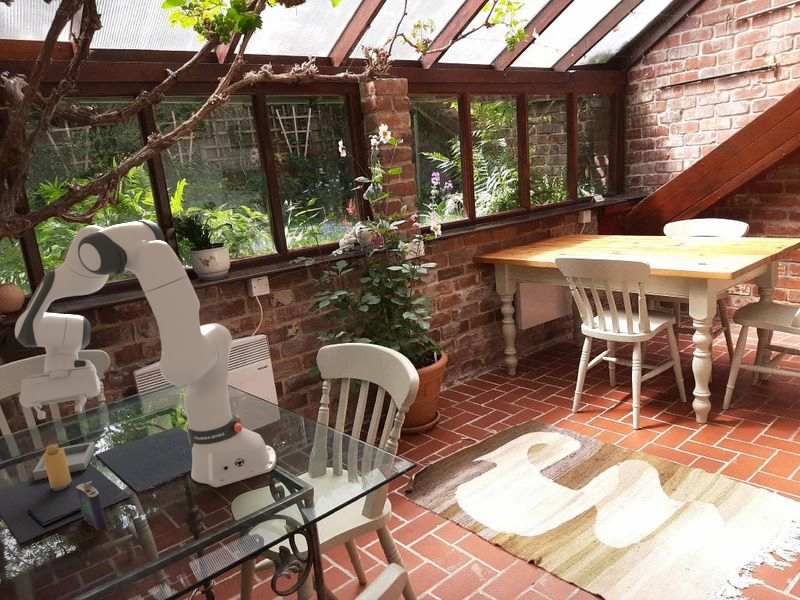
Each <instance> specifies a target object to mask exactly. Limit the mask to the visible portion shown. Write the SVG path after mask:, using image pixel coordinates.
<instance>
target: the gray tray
mask: <svg viewBox="0 0 800 600" xmlns="http://www.w3.org/2000/svg"><path fill="white" fill-rule="evenodd" d="M95 443H96V442H95V441H92V442H85V443H79V444H75V445H69V446H64V447H61V448H63V449H64V452H65V456H66V460H67V464H68V468H69V472H74V471H81V470H85V469H86V468H87V469H88V467H87V466H89V465H90V463H91V461H92V458H93V456H94V454H95V453H96V450H97V449H96V444H95ZM45 452H47V451H46V450H45ZM88 464H89V465H88ZM87 469H86V470H87ZM81 472H82V471H81ZM32 477H33V480H34V481H37V480H38V479H39V480H43V479H42V478H44V479H48V478H47V477H48V475H47V471H46V467H45V463H44V459H43V456H42V457H41V458H40V459H39V461H38V463H37V464H36V466H35V467H34V469H33V471H32ZM39 480H38V481H39Z"/></svg>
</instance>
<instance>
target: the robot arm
mask: <svg viewBox="0 0 800 600" xmlns="http://www.w3.org/2000/svg"><path fill="white" fill-rule="evenodd" d="M72 239H73V240H72V241H71V243H70V246H69V248H68V251H67V254H66V256H65V260H64V262H63V263H62V264H61V265H59V266H58V267H55V269H51V270H49V271H48V272H46V273H45V274H44V276H43V277H42V279H41V280H40V283H39V284H38V286H37V288H36V290H34V293H33V294H32V297H31V298H30V300H29V302H28V304H27V306H26V307H25V309H24V310H23V312H22V313H21V314H20V316H19V318H18V319H17V321H16V323H15V328H14V335H15V339H16V340H17V342H19V343H20V345H22V346H23V347H24V348H38V347H40V348H41V347H43V348H44V349H45V352H46V355H45V358H44V366H43V367H44V368H43V372H41V373H37V374H30V375H27V376H26V377H25V378H23V379H22V380H21V381H20V382H21V387H20V394H19V402H20V404H21V405H22V406H23V407H25V408H34V409H35V411H36V412H37V416H36V417H37V419H38V420H44V419H46V413H47V412H45V411H44V410H41V409H43V408H42V407H43V406H44V405H51V404H57V403H62V402H69V401H70V402H71V401H75V400H79V402H78V404H76V405H75V404H74V412H75V414H78V413H79V414H81V413H82V412H83V407H84V406H85V404H86V403H87V402H88V401H87V400H88V398H93V397H98V396H99V395H100V393H101V382H100V378H99V376H98V374H97V372H98V371H97V369H96V366H95V365H94V364H93V362H91V360H88V359H81V358H79V354H78V353H79V351H80V352H81V351H82V350H84V349H85V348H86V347H87V346H89V344H90V342H91V322H89V320H88V318H86V317H85V316H82V315H79V314H68V313H67V314H66V313H65V314H64V313H55V312H47V311H48V308H49V306H51V303H53V302H54V301H55V300H58V299H59V300H60V299H63V298H67V297H74V296H75V297H77V296H85V295H90V294H93V293H96V292H98V291H100V290H101V289H102V288H103V287H104V286H105V285H106V282H108V279H109V278H110V275H116V276H117V275H118V276H119V275H120V276H121V275H123V273H124V271H129V272H131V273H132V274H134V275H135V276H136V278H137V279H138V280H137V281H138V282H139V284H140V286H141V288H142V291H143V293H144V296H145V297H146V299H147V302H148V303H149V306H150V308H151V310H152V314H153V315H154V318H155V320H156V323H157V326H158V332H159V336H160V337H159V338H160V342H161V343H160V344H161V357H160V360H159V370H160V374H161V375H162V377H163V379H164V380H165V381H167V382H168V383H169V384H171V385H173V386H175V387H184V386H185V387H186V390H185V393H184V396H183V404H184V408H185V413H186V414H185V415H186V419H187V438H188V442H189V445H190V447H191V456H192V457H191V458H192V461H191V463H192V466H191V473H190V476H191V479H192V480H193V481H195V482H197V483H200V484H206V485H209V486H211V487H214V488H219V487H223V486H225V485H230V484H232V483H236V482H239V481H242V480H243V481H244V480H246V479H250V478H253V477H256V476H259V475H262V474H265V473H270V472H271V471H273V469H274V468H275V466H276V465H277V454H276V451H275V450H274V448H273V447H271V446H270V445H267V444H266V443H265V440H264V439H263V437H262V436H261V434H259V433H257V432H255V431H252V430H249V429H248V428H245V427H243V424H242V422H241V418H240V416H239V414H237V415H236V416H235V415H233V414H232V411H231V405H230V404H231V403H230V397H229V389H228V388H229V387H228V386H229V385H228V384H229V383H228V382H229V362H230V352H231V350H232V347H233V336H232V334H231V332H230V330H229V329H228V328H227V327H225V326H224V325H222V324H220V323H217V322H216V323H215V322H213V323H207V324H203V325H201V323H200V308H201V304H200V300H199V298H198V295H197V293H196V290H195V289H194V287H193V285H192V282H191V280H190V278H189V276H188V273H187V271H186V269H185V267H184V266H183V264H182V262H181V260H180V259H179V257H178V255H177V254H176V252H175V251H174V249H173V248H172V247H171V245H169V244H168V243H167V242H166V240H165V235H164V233H163V231H162V229H161V228H160V226H159V225H158V224H156V223H155V222H153V221H151V220H149V219H138V220H133V221H131V222H126V223H120V224H114V225H112V226H108V227H105V228H104V227H102V226H98V225H88V226H84V227H82V228H80V229H79V230H78V231H77V232H76V234H75V236H74V238H72Z"/></svg>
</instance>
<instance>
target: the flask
mask: <svg viewBox="0 0 800 600" xmlns="http://www.w3.org/2000/svg"><path fill="white" fill-rule="evenodd" d="M91 483H92V480H89V482H88V481H87V482H85V483H81V484H78V485H76V486H75V490H76V494H77V497H78V502H79V506H80V510H81V513H82V516H83V515H84V519H83V520H84V521H85V522H87V523H88V525H90V526H92V528H95V529H96V530H97V531H105V529H107V528H108V522H107V519H106V515H105V511H104V507H103V504H102V499H101V495H100V492H99V490H98V489H97V488H95V487H94V486H93V485H92V484H91Z"/></svg>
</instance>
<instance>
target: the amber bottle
mask: <svg viewBox="0 0 800 600" xmlns="http://www.w3.org/2000/svg"><path fill="white" fill-rule="evenodd" d="M46 451H47V452H46ZM42 457H43V459H44V463H45V467H46V471H47V475H48V478H47V479H48V482H49V486H50V489H51V488H58V487H62V486H65V485H67V484H69V483H70V482H71V481H72V477H71V474H70V472H69V468H68V464H67V460H66V456H65V452H64V449H63V448H62V447H59V444H58V443H52V444H50V445H47V446H46V447H45V452H44V453H43V454H42ZM72 482H73V481H72Z"/></svg>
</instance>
